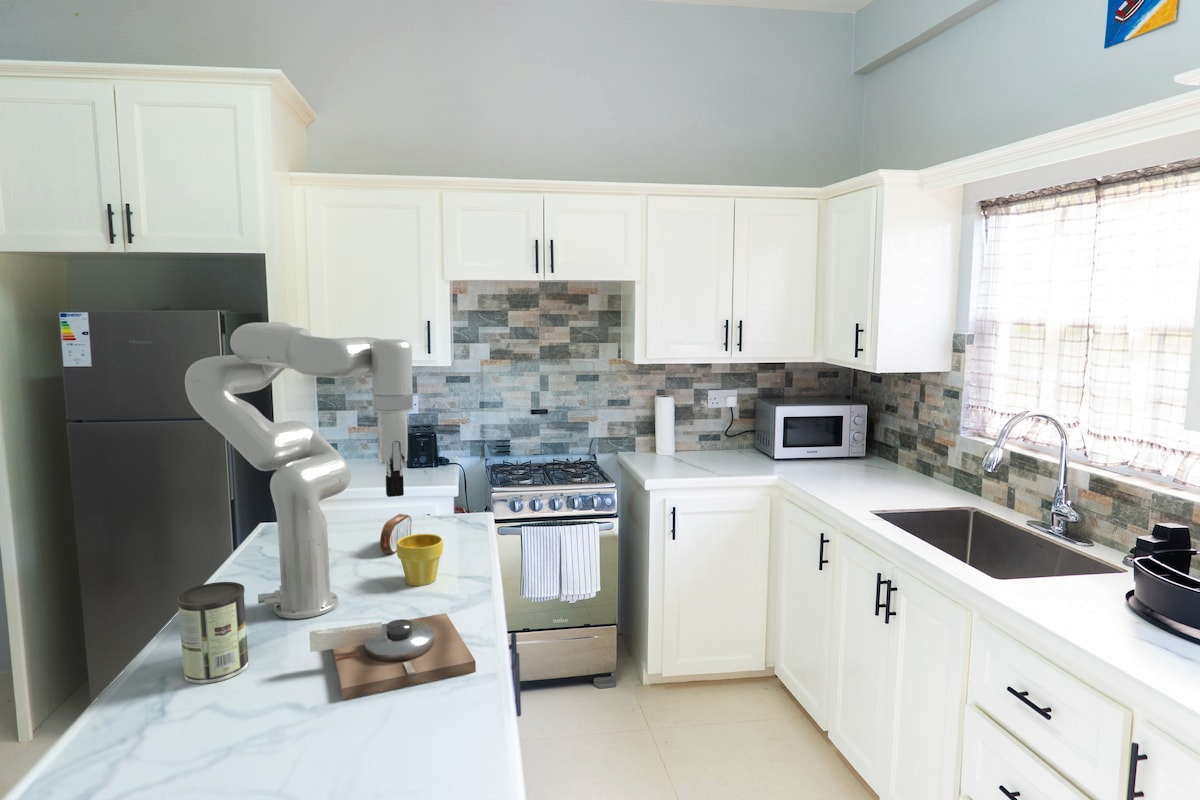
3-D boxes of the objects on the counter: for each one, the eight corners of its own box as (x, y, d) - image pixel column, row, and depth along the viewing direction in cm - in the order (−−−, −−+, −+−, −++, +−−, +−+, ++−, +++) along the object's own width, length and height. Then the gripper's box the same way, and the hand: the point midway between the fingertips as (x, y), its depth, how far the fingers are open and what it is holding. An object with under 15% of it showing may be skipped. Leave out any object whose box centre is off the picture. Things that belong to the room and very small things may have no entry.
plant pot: (426, 592, 162) (425, 549, 161) (388, 585, 166) (387, 544, 164) (452, 576, 171) (451, 536, 170) (415, 570, 175) (414, 531, 174)
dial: (430, 627, 139) (429, 604, 138) (436, 655, 127) (436, 631, 127) (312, 643, 132) (311, 619, 132) (308, 674, 121) (307, 648, 120)
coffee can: (217, 651, 133) (212, 578, 132) (262, 660, 130) (257, 585, 128) (168, 678, 124) (162, 599, 122) (214, 688, 120) (209, 607, 119)
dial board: (342, 700, 117) (342, 686, 117) (330, 643, 137) (329, 631, 136) (475, 671, 126) (475, 659, 126) (446, 622, 146) (445, 611, 146)
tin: (403, 539, 199) (402, 509, 198) (414, 539, 199) (413, 510, 198) (379, 557, 184) (378, 525, 183) (391, 558, 184) (389, 526, 183)
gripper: (369, 399, 146) (372, 487, 148) (375, 409, 132) (378, 507, 134) (408, 397, 149) (409, 485, 151) (417, 407, 135) (419, 503, 137)
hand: (394, 495), depth 143 cm, fingers closed
